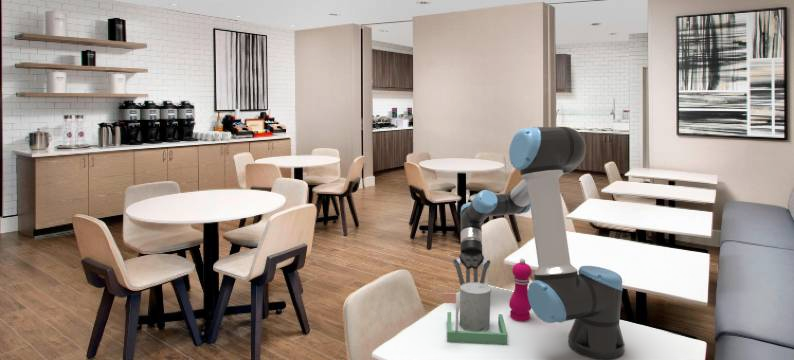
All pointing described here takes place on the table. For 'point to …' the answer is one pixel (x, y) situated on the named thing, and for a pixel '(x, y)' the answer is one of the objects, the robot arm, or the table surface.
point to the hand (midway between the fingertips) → (472, 307)
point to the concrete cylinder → (475, 306)
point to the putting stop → (471, 335)
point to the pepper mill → (520, 292)
